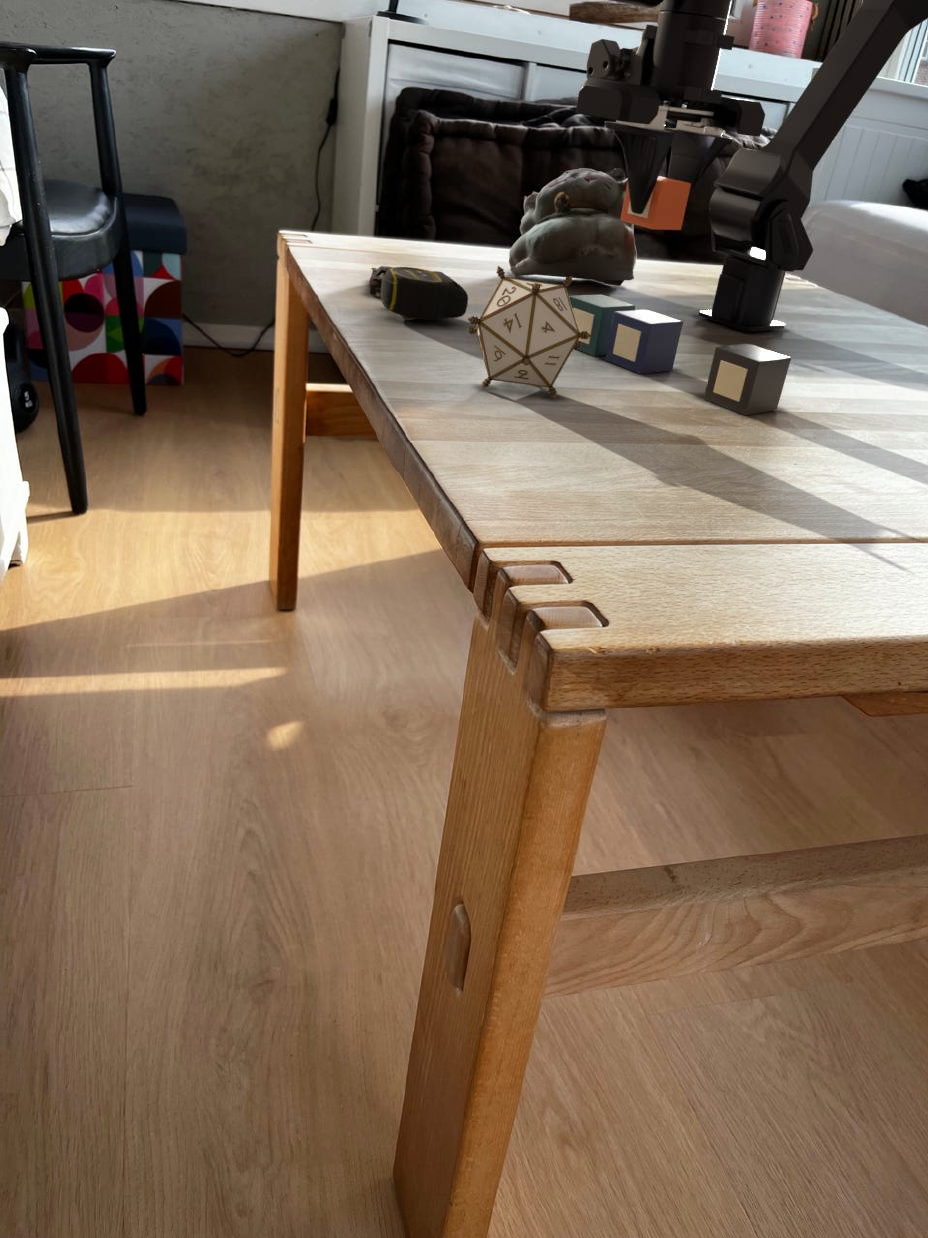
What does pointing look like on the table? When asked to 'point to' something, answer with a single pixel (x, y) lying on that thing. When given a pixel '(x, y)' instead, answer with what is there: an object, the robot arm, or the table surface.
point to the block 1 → (596, 320)
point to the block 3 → (746, 378)
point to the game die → (527, 332)
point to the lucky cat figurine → (577, 229)
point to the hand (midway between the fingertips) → (653, 213)
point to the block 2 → (643, 341)
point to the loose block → (660, 206)
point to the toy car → (377, 279)
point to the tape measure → (422, 294)
